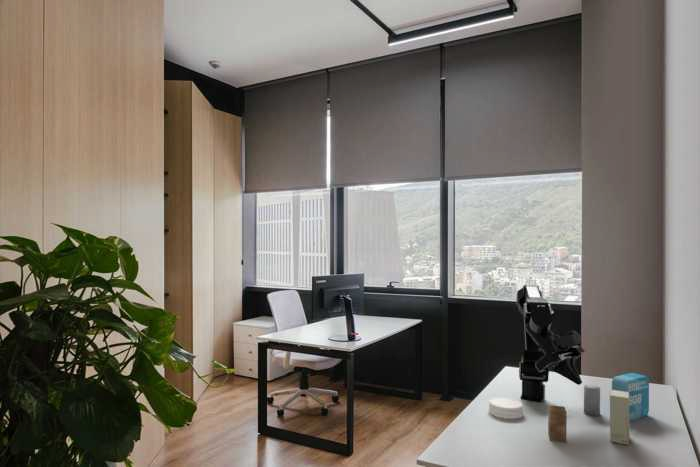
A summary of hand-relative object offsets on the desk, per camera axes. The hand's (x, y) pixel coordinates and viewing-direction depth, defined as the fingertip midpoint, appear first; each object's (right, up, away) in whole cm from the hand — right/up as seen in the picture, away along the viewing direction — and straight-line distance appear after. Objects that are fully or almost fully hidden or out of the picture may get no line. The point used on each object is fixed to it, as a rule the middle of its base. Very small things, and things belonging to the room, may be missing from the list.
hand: (580, 383), depth 132 cm
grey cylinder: (+9, -12, +10) cm, 18 cm away
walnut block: (-10, -12, -8) cm, 18 cm away
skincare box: (+6, -12, -8) cm, 16 cm away
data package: (+19, -13, +8) cm, 24 cm away
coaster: (-18, -12, +9) cm, 24 cm away
